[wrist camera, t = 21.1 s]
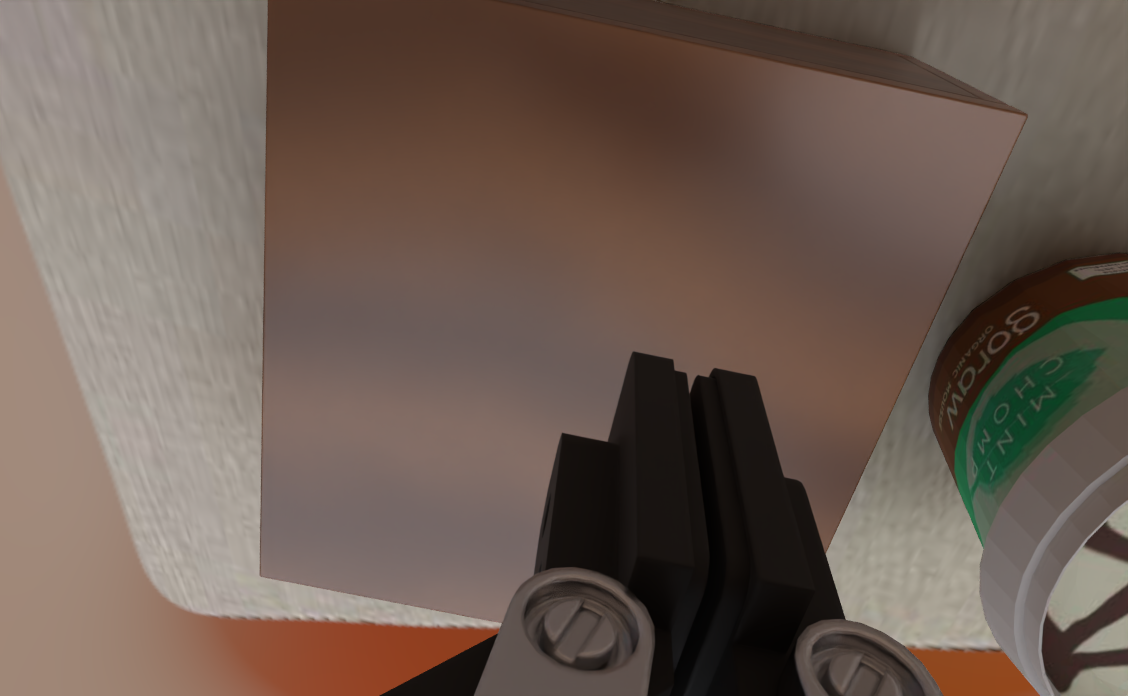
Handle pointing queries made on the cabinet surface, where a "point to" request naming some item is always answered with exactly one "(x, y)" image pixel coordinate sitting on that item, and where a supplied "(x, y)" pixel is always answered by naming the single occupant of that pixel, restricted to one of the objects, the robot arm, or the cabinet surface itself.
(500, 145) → the chest lid
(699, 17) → the chest
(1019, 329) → the food container
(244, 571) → the cabinet surface
